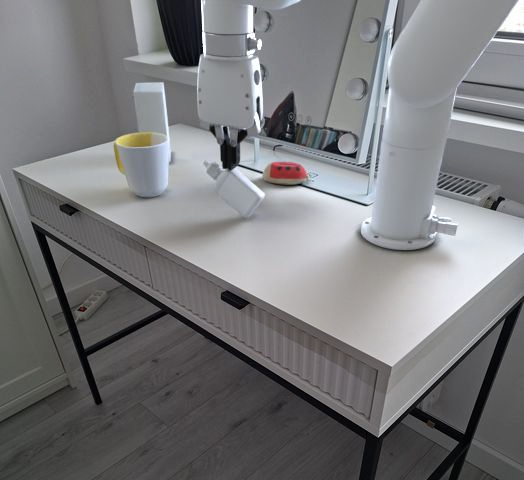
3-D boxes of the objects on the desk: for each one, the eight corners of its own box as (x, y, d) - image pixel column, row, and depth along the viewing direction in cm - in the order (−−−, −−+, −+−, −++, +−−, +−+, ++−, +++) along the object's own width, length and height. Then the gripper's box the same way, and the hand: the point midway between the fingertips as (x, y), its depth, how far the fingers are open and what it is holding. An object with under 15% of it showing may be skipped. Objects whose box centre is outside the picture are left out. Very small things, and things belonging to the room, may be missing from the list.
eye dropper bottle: (252, 209, 88) (199, 162, 86) (245, 221, 93) (194, 177, 91) (267, 192, 89) (215, 145, 87) (259, 205, 94) (209, 161, 93)
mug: (184, 193, 102) (178, 139, 96) (139, 206, 97) (130, 150, 91) (151, 175, 111) (143, 124, 104) (108, 186, 106) (97, 134, 99)
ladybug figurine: (265, 173, 111) (265, 157, 108) (310, 176, 109) (311, 160, 107) (259, 185, 106) (259, 167, 103) (306, 188, 104) (306, 170, 102)
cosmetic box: (145, 153, 122) (134, 82, 113) (173, 152, 123) (164, 81, 113) (143, 165, 116) (131, 90, 106) (172, 164, 116) (162, 89, 107)
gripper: (283, 46, 77) (278, 166, 89) (196, 38, 81) (202, 154, 93) (264, 53, 72) (262, 181, 83) (172, 45, 76) (182, 167, 87)
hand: (230, 166), depth 88 cm, fingers closed
